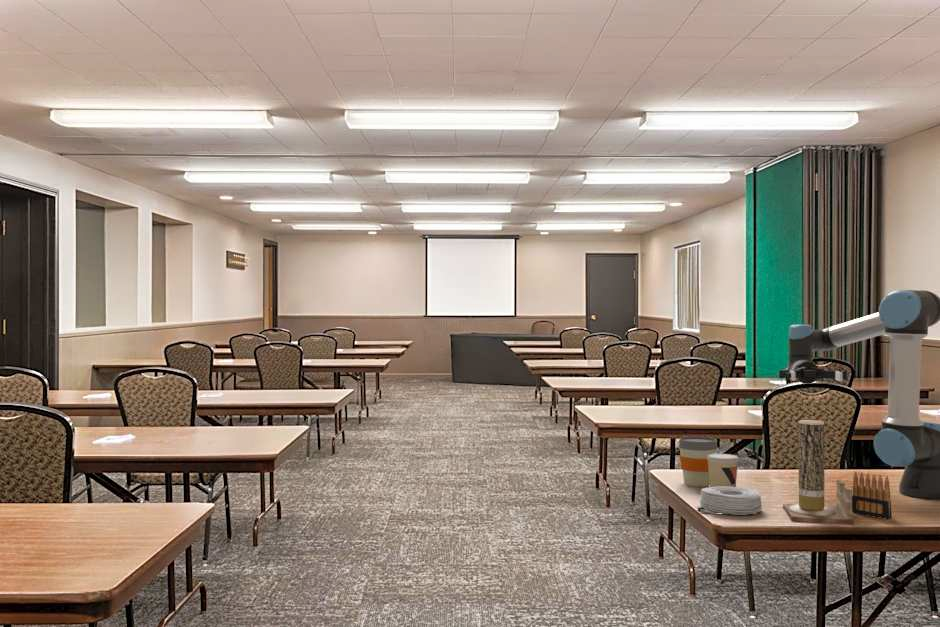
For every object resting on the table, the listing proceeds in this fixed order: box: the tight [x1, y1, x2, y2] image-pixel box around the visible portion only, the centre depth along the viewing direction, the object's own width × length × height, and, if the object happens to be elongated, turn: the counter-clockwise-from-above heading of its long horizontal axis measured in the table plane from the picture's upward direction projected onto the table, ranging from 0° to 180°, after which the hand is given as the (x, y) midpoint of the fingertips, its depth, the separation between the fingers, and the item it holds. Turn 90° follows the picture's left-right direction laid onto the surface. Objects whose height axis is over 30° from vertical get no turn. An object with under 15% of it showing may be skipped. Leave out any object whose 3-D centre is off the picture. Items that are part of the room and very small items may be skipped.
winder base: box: [782, 479, 855, 525], centre depth 235 cm, size 16×16×9 cm
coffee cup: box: [707, 453, 739, 487], centre depth 264 cm, size 9×9×12 cm
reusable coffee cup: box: [678, 436, 718, 487], centre depth 279 cm, size 13×13×15 cm
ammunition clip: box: [852, 471, 893, 520], centre depth 235 cm, size 11×2×12 cm, turn 40°
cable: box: [696, 486, 762, 516], centre depth 243 cm, size 18×18×6 cm
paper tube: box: [798, 419, 825, 511], centre depth 236 cm, size 7×7×25 cm
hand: (817, 376), depth 256 cm, fingers open, 13 cm apart
